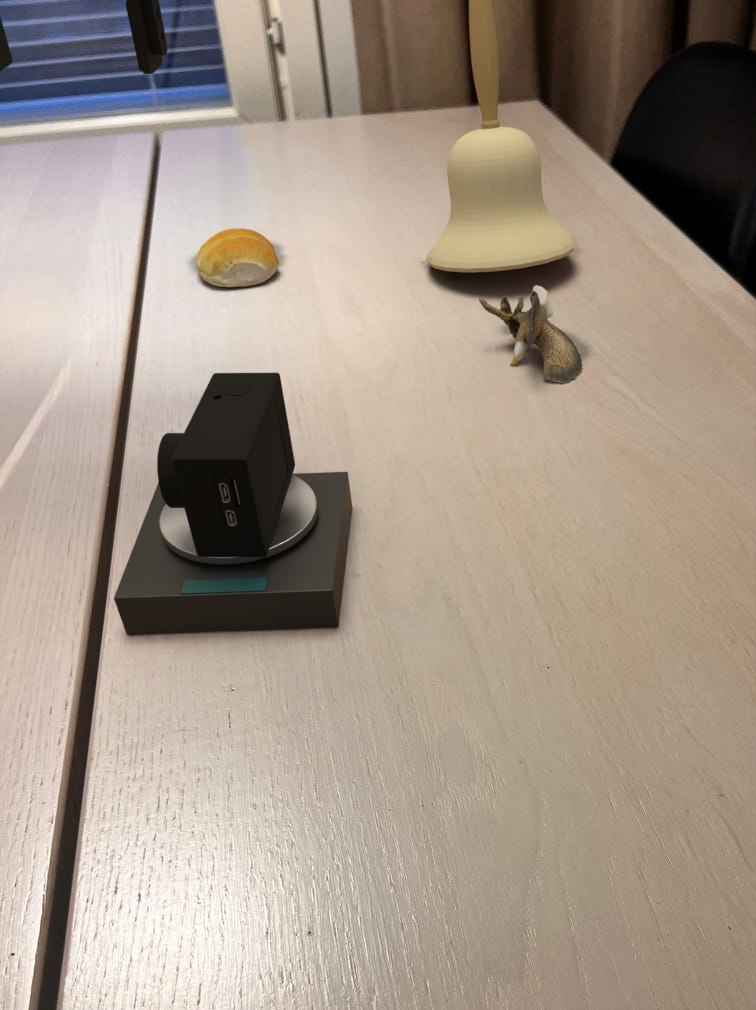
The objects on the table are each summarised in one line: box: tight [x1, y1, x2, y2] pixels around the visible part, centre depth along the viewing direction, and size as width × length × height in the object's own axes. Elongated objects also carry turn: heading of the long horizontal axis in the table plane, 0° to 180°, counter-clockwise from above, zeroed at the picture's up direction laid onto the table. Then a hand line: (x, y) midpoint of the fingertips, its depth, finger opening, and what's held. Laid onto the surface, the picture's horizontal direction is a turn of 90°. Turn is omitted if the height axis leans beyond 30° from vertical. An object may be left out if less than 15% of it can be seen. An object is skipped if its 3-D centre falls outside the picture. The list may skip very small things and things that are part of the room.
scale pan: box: [159, 475, 318, 565], centre depth 63 cm, size 10×10×1 cm
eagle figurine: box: [478, 285, 583, 384], centre depth 84 cm, size 8×7×9 cm
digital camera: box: [156, 372, 296, 557], centre depth 61 cm, size 10×5×7 cm, turn 178°
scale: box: [113, 471, 353, 636], centre depth 64 cm, size 13×13×3 cm
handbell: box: [425, 0, 577, 273], centre depth 95 cm, size 15×15×25 cm
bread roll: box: [195, 227, 280, 288], centre depth 101 cm, size 8×9×4 cm
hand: (76, 69), depth 62 cm, fingers open, 9 cm apart
